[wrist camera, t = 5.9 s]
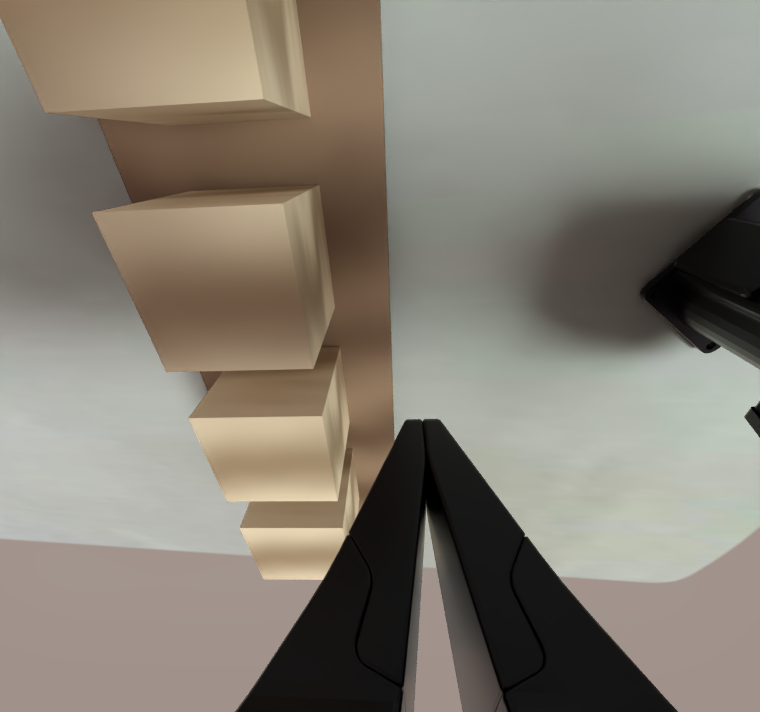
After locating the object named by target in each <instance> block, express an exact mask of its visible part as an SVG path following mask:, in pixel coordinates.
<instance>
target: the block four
mask: <svg viewBox="0 0 760 712" xmlns="http://www.w3.org/2000/svg"><path fill="white" fill-rule="evenodd" d="M358 509H359V492H358V484H357V476H356V468H355V460H354V453H353V448H346V450H345V456H344V463H343V469H342V476H341V483H340V489H339V496H338V501H250V504H249V506H248V509H247V511H246V514H245V516H244V519H243V521H242V524H241V526H240V530H241V532H242V534H243V536H244V538H245V540H246V543H247V545H248V547H249V549H250V551H251V553H252V555H253V557H254V560H255V562H256V564H257V566H258V568H259V570H260V572H261V574H262V577H263V579H308V580H309V579H310V580H323V579H324V577H325V575H326V573H327V572H328V570H329V568H330V566H331V564H332V562H333V561H334V559H335V557H336V555H337V553H338V551H339V549H340V547H341V545H342V544H343V542H344V540H345V538H346V536H347V535H349V530H350V528H351V526H352V524H353V522H354V520H355V518H356V516H357V514H358Z"/></svg>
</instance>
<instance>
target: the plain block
mask: <svg viewBox="0 0 760 712" xmlns="http://www.w3.org/2000/svg"><path fill="white" fill-rule="evenodd" d="M188 419H189V421H190V423H191V425H192V427H193V429H194V432H195V434H196V436H197V438H198V440H199V442H200V444H201V446H202V449H203V451H204V453H205V455H206V457H207V459H208V461H209V464H210V466H211V468H212V470H213V472H214V474H215V476H216V478H217V481H218V483H219V485H220V487H221V489H222V491H223V493H224V496H225V498H226V500H227V502H229V501H338V496H339V489H340V483H341V476H342V469H343V463H344V456H345V450H346V443H347V436H348V430H349V423H350V421H349V413H348V405H347V397H346V389H345V382H344V374H343V366H342V358H341V350H340V346H337V347H321V348H320V351H319V354H318V357H317V360H316V363H315V365H314V368H313V369H285V370H240V371H223V373H222V374H221V375H220V377H219V378H218V379H217V381H216V382H215V383H214V385H213V386H212V387H211V389H210V390H209V391H208V393H207V394H206V395H205V397H204V398H203V399H202V401H201V402H200V403H199V405H198V406H197V407H196V409H195V410H194V411H193V413H192V414H191V415H190V417H189V418H188Z"/></svg>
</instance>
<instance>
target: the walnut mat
mask: <svg viewBox="0 0 760 712" xmlns="http://www.w3.org/2000/svg"><path fill="white" fill-rule="evenodd" d="M296 4H297V12H298V20H299V28H300V36H301V43H302V51H303V59H304V67H305V75H306V83H307V91H308V99H309V106H310V114H311V117H305V118H288V119H272V120H255V121H238V122H221V123H204V124H187V125H160V124H151V123H141V122H131V121H121V120H111V119H101V118H98V120H99V123H100V125H101V128H102V130H103V132H104V135H105V137H106V140H107V142H108V145H109V147H110V150H111V152H112V155H113V157H114V160H115V162H116V165H117V167H118V170H119V172H120V175H121V177H122V180H123V182H124V185H125V187H126V189H127V192H128V194H129V197H130V199H131V202H132V204H133V203H138V202H143V201H147V200H152V199H157V198H161V197H166V196H171V195H175V194H180V193H184V192H189V191H204V190H224V189H244V188H264V187H285V186H305V185H320V193H321V201H322V209H323V217H324V225H325V233H326V240H327V248H328V256H329V264H330V272H331V280H332V288H333V296H334V303H335V309H334V312H333V314H332V317H331V320H330V323H329V326H328V329H327V331H326V334H325V337H324V340H323V343H322V346H321V347H337V346H340V350H341V358H342V366H343V374H344V382H345V389H346V397H347V405H348V413H349V421H350V423H349V430H348V436H347V443H346V448H353V453H354V460H355V468H356V476H357V484H358V492H359V509H358V512H359V510H360V509H361V507H362V505H363V503H364V501H365V499H366V497H367V495H368V493H369V491H370V489H371V487H372V485H373V483H374V481H375V479H376V477H377V475H378V473H379V471H380V469H381V467H382V465H383V463H384V461H385V459H386V457H387V455H388V453H389V451H390V450H391V448H392V446H393V444H394V413H393V382H392V351H391V320H390V289H389V258H388V227H387V196H386V165H385V134H384V103H383V73H382V42H381V11H380V0H296ZM200 373H201V375H202V378H203V380H204V383H205V385H206V388H207V390H208V391H209V390H210V389H211V387H212V386H213V385H214V383H215V382H216V381H217V379H218V378H219V377H220V375H221V374H222V373H223V371H200Z"/></svg>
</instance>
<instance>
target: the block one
mask: <svg viewBox="0 0 760 712" xmlns="http://www.w3.org/2000/svg"><path fill="white" fill-rule="evenodd" d="M0 18H1V20H2V22H3V24H4V26H5V29H6V31H7V33H8V35H9V37H10V39H11V41H12V43H13V46H14V48H15V50H16V52H17V54H18V56H19V58H20V61H21V63H22V65H23V67H24V69H25V71H26V73H27V75H28V78H29V80H30V82H31V84H32V86H33V88H34V90H35V93H36V95H37V97H38V99H39V101H40V103H41V105H42V107H43V110H44V112H45V113H52V114H62V115H72V116H82V117H92V118H101V119H111V120H121V121H131V122H141V123H151V124H160V125H187V124H204V123H221V122H238V121H255V120H272V119H288V118H305V117H311V114H310V106H309V99H308V91H307V83H306V75H305V67H304V59H303V51H302V43H301V36H300V28H299V20H298V12H297V4H296V0H0Z"/></svg>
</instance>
